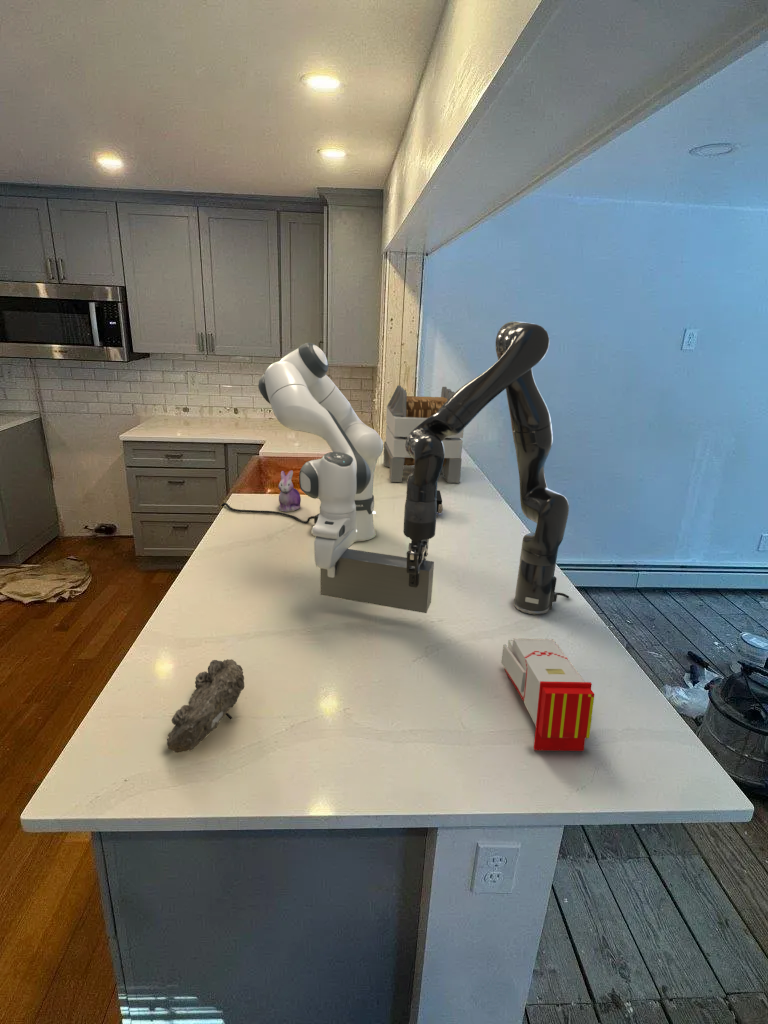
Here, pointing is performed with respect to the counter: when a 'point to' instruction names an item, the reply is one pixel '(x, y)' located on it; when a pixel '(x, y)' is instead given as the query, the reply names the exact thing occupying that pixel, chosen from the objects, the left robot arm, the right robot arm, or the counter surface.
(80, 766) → the counter surface
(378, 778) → the counter surface
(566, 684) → the toy
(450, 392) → the stacked crate on legs
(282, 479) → the figurine
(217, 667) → the fossil
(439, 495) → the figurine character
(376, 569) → the box
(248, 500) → the counter surface
